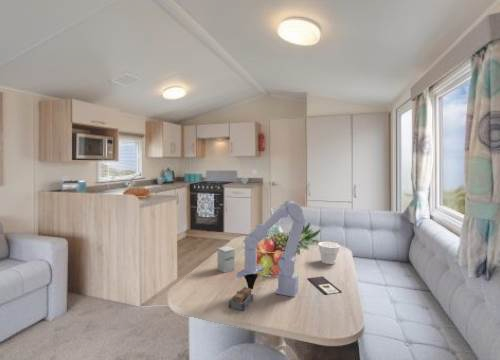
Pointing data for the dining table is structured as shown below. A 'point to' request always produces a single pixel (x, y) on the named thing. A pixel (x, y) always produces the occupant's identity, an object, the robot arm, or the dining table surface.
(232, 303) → the gray angular bracket
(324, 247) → the cup
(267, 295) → the dining table surface
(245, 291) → the slat
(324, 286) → the chocolate bar
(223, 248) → the supplement box
